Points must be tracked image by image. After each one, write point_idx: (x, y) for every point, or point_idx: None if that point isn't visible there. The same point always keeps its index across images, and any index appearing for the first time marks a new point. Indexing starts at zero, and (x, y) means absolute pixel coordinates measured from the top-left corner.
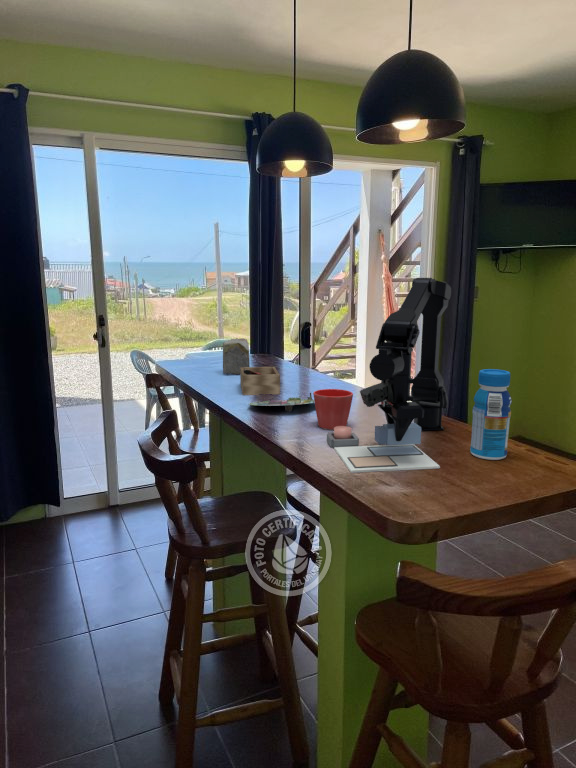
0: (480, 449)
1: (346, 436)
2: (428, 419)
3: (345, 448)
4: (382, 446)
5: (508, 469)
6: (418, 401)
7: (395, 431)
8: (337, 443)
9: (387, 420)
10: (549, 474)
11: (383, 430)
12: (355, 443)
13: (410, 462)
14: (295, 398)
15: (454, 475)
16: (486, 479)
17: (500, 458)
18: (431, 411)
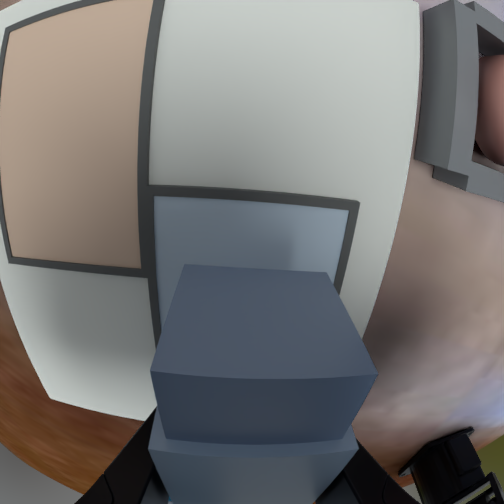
0: None
1: (495, 104)
2: (431, 476)
3: (386, 48)
4: None
5: (88, 474)
6: (487, 483)
7: (135, 455)
8: (443, 23)
9: (367, 493)
10: (78, 486)
11: (160, 403)
12: (433, 145)
13: (63, 337)
14: None
15: (12, 388)
16: (15, 420)
17: None
18: (433, 498)
